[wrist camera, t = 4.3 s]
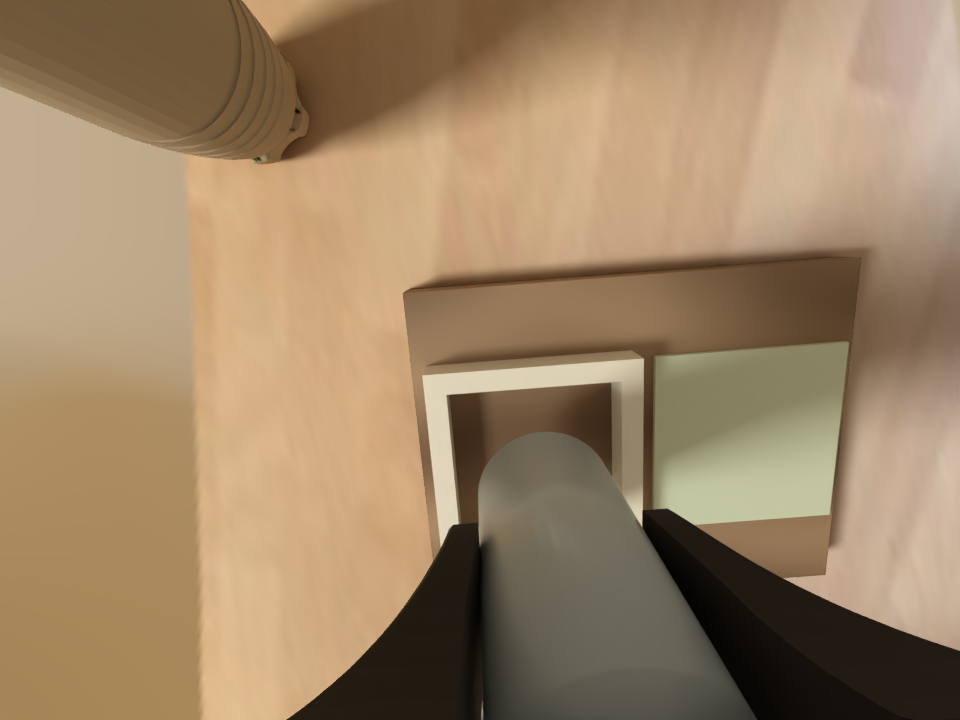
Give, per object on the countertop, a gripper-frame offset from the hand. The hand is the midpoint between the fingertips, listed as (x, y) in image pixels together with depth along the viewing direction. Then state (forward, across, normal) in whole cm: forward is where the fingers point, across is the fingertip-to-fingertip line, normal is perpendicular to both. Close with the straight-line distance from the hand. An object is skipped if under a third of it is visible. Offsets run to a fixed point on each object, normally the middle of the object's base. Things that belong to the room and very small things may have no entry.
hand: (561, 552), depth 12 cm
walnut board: (+7, -4, 0) cm, 8 cm away
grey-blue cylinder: (+3, 0, 0) cm, 3 cm away
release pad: (+6, -8, 0) cm, 9 cm away
